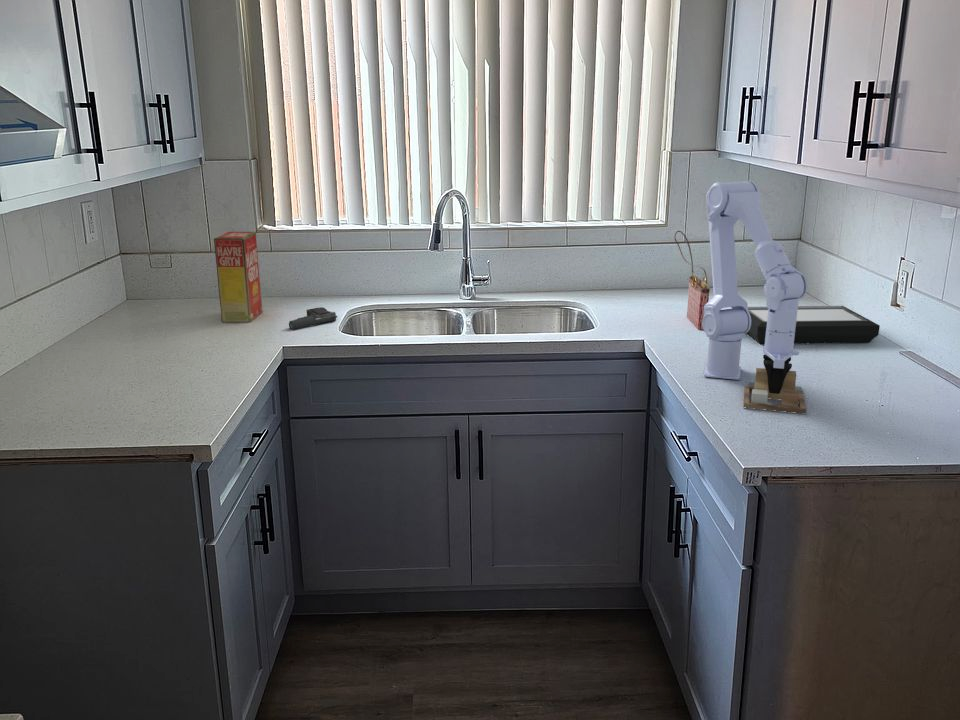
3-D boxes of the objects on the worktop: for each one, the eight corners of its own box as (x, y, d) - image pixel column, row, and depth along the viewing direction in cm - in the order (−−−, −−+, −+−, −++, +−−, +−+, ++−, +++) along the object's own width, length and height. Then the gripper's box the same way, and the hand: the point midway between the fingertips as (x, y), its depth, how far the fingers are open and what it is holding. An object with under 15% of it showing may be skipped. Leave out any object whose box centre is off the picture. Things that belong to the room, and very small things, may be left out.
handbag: (692, 312, 245) (698, 230, 237) (709, 331, 225) (717, 241, 217) (668, 312, 245) (674, 230, 237) (683, 331, 225) (690, 241, 217)
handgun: (273, 315, 236) (294, 321, 228) (321, 305, 247) (343, 311, 238) (274, 325, 237) (295, 331, 228) (322, 315, 248) (343, 321, 239)
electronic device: (845, 304, 228) (880, 322, 209) (843, 325, 230) (876, 345, 211) (733, 305, 228) (758, 323, 209) (731, 326, 230) (755, 346, 211)
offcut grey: (751, 402, 171) (752, 389, 170) (766, 403, 170) (767, 390, 169) (751, 407, 168) (752, 393, 167) (766, 408, 167) (767, 395, 167)
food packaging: (251, 322, 237) (243, 237, 230) (220, 322, 237) (210, 238, 230) (264, 311, 250) (256, 231, 242) (234, 311, 250) (225, 231, 243)
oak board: (753, 393, 176) (756, 367, 174) (792, 397, 173) (795, 371, 172) (753, 397, 173) (756, 371, 172) (793, 401, 171) (796, 374, 169)
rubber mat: (749, 383, 182) (749, 382, 182) (801, 388, 179) (801, 386, 179) (748, 390, 178) (749, 389, 177) (802, 395, 174) (802, 394, 174)
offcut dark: (781, 405, 169) (783, 389, 168) (796, 406, 168) (798, 390, 167) (781, 409, 167) (783, 394, 166) (797, 411, 166) (799, 395, 165)
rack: (744, 389, 178) (744, 385, 178) (802, 395, 175) (802, 390, 174) (743, 408, 167) (744, 403, 167) (805, 414, 164) (806, 409, 164)
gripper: (803, 340, 161) (795, 403, 165) (799, 322, 174) (792, 381, 178) (765, 337, 163) (759, 400, 167) (764, 320, 176) (758, 378, 180)
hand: (774, 390), depth 173 cm, fingers closed on oak board, 2 cm apart
